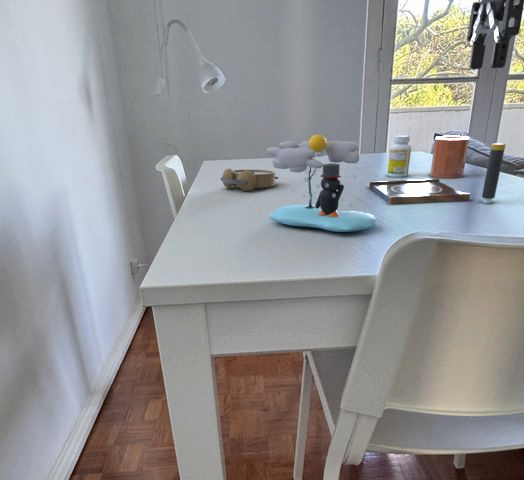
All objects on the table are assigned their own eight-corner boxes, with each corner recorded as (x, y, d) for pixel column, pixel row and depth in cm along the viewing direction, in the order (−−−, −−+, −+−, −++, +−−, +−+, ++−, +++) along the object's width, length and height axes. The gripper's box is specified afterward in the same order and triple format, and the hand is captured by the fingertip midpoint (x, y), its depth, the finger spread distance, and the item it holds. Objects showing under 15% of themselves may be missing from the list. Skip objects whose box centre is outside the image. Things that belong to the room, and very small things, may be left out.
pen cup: (455, 172, 126) (461, 135, 122) (468, 177, 119) (474, 138, 115) (425, 173, 126) (430, 136, 122) (437, 178, 119) (442, 140, 115)
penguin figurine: (384, 226, 83) (393, 132, 75) (354, 241, 76) (360, 139, 68) (293, 212, 94) (292, 128, 87) (259, 224, 87) (255, 134, 80)
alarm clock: (285, 172, 118) (244, 169, 107) (283, 192, 120) (242, 192, 109) (252, 168, 124) (210, 165, 114) (250, 188, 126) (209, 187, 116)
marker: (490, 200, 97) (501, 142, 91) (496, 203, 95) (508, 144, 89) (478, 201, 97) (489, 143, 91) (483, 204, 95) (495, 144, 89)
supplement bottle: (398, 178, 122) (402, 137, 117) (382, 175, 126) (386, 136, 121) (412, 175, 124) (417, 135, 119) (397, 172, 128) (401, 134, 123)
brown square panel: (437, 184, 113) (438, 178, 112) (469, 200, 98) (470, 193, 97) (369, 187, 112) (369, 181, 112) (390, 204, 97) (390, 197, 96)
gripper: (553, -61, 70) (527, 66, 78) (505, -40, 82) (487, 68, 90) (503, -58, 70) (483, 69, 78) (463, -38, 82) (449, 70, 90)
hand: (485, 68), depth 84 cm, fingers open, 8 cm apart
